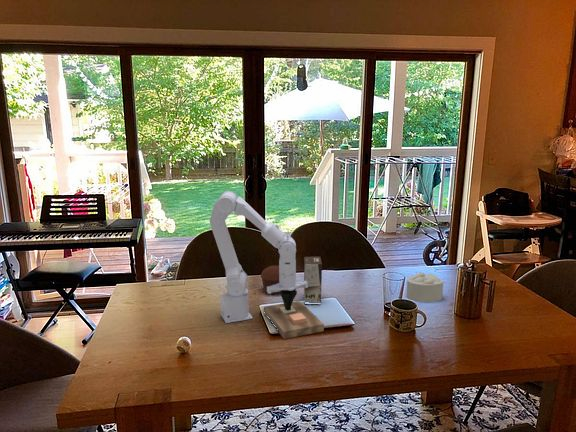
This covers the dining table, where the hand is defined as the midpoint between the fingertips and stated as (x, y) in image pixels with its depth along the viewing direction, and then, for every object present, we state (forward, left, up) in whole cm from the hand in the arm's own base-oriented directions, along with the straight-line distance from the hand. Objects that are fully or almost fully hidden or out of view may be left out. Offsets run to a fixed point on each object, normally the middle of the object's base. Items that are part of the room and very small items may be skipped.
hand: (287, 309), depth 157 cm
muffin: (+4, +24, -3) cm, 24 cm away
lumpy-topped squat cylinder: (+55, -3, -3) cm, 55 cm away
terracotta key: (0, -9, -1) cm, 9 cm away
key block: (0, -4, -3) cm, 5 cm away
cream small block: (0, 0, -2) cm, 2 cm away
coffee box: (+14, +10, -3) cm, 17 cm away
